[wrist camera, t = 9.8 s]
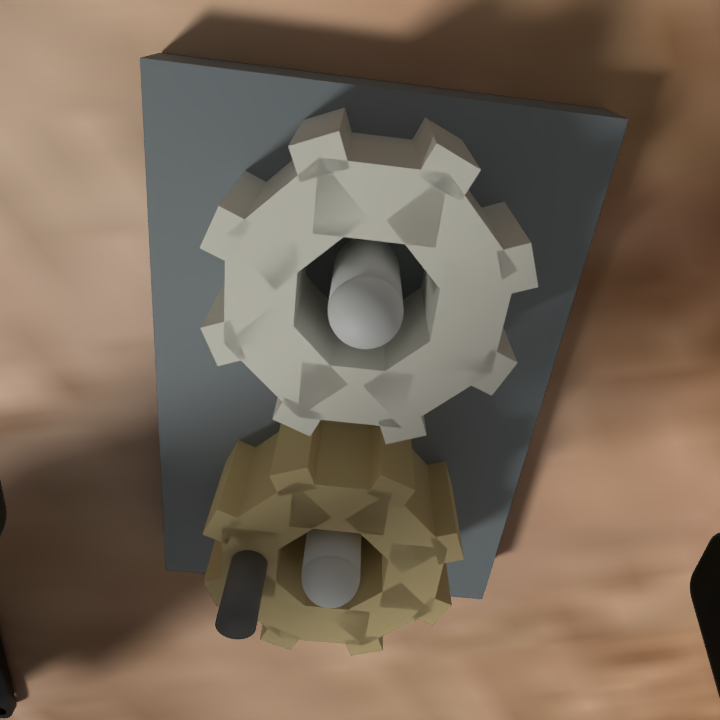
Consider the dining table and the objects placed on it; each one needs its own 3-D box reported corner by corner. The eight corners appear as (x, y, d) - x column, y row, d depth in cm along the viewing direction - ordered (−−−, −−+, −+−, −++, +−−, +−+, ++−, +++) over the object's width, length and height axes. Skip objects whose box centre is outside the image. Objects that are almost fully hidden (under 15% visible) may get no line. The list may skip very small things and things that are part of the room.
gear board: (476, 566, 24) (508, 744, 18) (177, 537, 23) (114, 711, 18) (607, 109, 16) (738, 170, 10) (159, 52, 15) (35, 83, 10)
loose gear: (537, 131, 15) (573, 159, 12) (475, 389, 18) (492, 455, 15) (230, 92, 14) (198, 113, 12) (226, 362, 18) (201, 425, 15)
